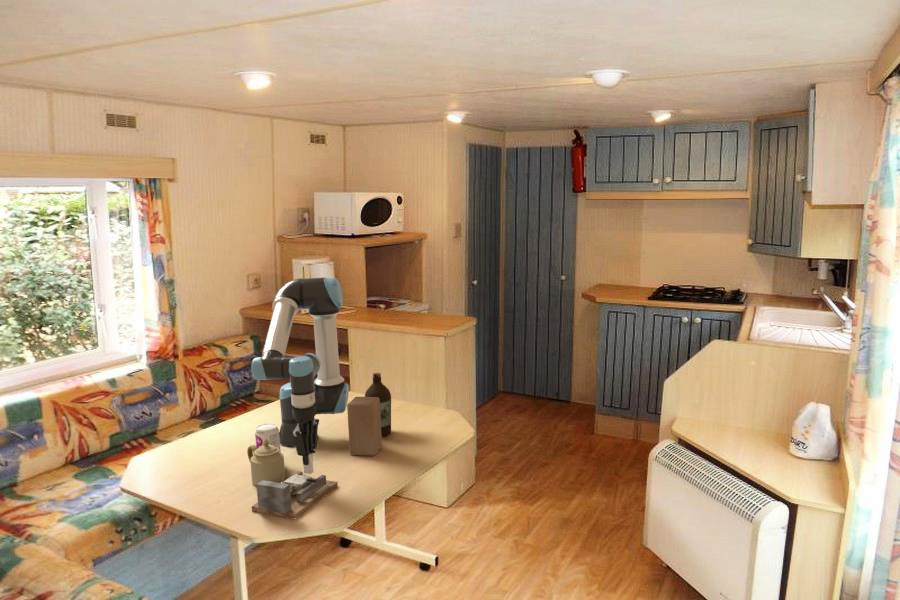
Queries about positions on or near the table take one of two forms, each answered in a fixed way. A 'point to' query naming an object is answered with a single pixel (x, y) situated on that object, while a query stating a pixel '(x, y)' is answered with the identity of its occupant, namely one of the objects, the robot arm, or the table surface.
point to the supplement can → (267, 435)
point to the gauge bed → (290, 497)
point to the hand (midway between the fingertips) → (308, 472)
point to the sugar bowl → (266, 463)
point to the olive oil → (381, 402)
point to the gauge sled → (298, 483)
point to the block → (364, 426)
